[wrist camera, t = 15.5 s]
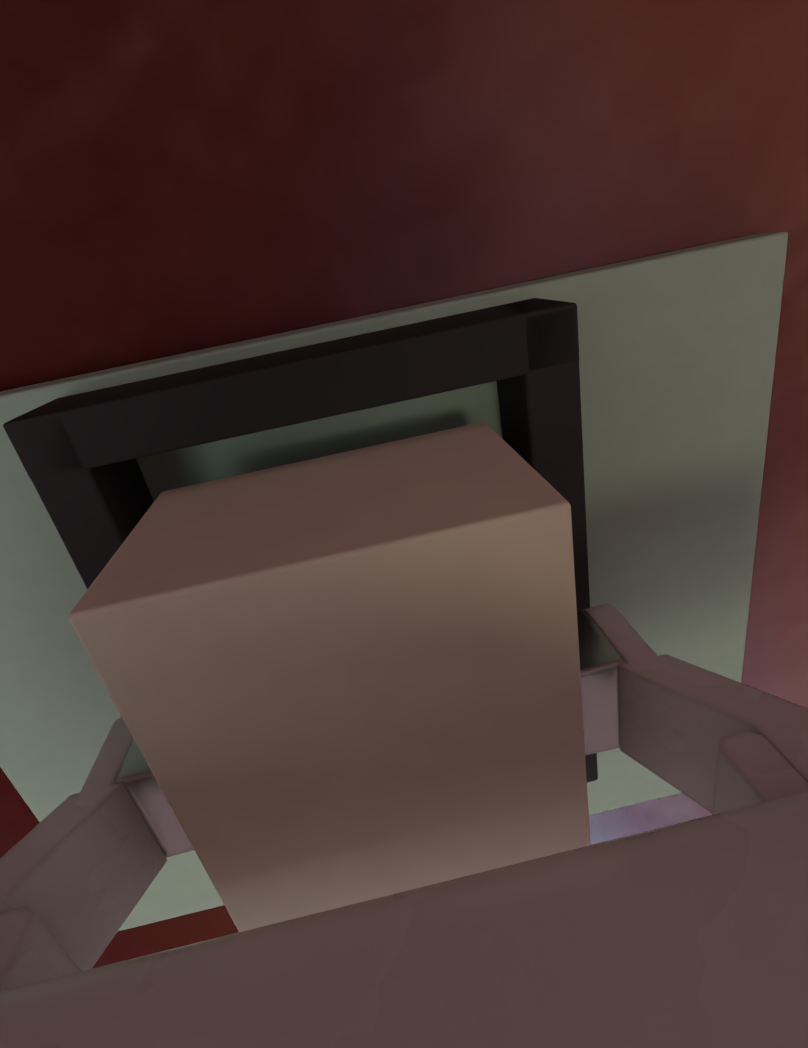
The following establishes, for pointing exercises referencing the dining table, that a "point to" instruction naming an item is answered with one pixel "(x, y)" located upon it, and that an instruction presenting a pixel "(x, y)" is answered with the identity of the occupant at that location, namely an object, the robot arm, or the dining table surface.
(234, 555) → the beige rectangular block
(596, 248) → the dining table surface
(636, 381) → the base mat
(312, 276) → the dining table surface
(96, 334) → the dining table surface
